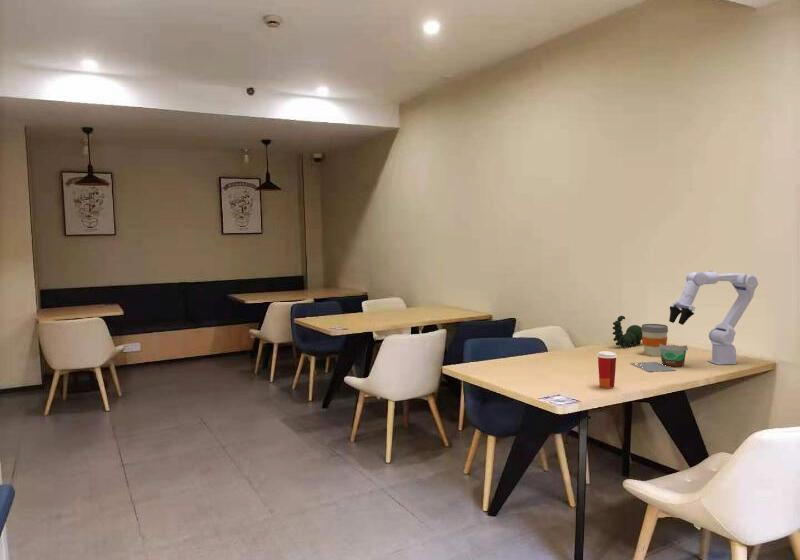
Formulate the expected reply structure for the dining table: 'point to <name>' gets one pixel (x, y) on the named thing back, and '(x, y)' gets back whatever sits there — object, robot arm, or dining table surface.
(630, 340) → the toy figurine
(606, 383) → the paper cup
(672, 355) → the food container
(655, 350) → the reusable coffee cup
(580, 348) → the dining table surface
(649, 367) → the plain gray flat panel
